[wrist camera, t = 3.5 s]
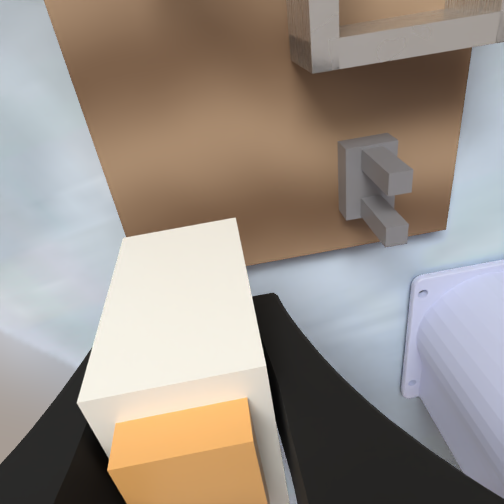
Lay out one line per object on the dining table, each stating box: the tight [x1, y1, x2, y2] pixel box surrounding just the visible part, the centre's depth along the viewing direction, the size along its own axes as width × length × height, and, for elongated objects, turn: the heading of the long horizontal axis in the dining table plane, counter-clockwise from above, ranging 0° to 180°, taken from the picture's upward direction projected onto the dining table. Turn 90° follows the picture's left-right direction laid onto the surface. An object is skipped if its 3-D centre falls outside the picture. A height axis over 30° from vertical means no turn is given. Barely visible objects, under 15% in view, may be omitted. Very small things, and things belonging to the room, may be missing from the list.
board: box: [44, 0, 472, 266], centre depth 15 cm, size 16×14×1 cm
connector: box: [77, 217, 290, 504], centre depth 9 cm, size 4×3×6 cm, turn 8°
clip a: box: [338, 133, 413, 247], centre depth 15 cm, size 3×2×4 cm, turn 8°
